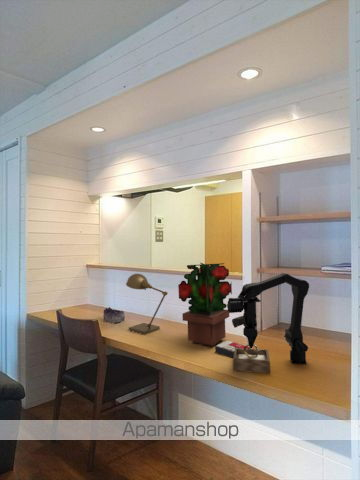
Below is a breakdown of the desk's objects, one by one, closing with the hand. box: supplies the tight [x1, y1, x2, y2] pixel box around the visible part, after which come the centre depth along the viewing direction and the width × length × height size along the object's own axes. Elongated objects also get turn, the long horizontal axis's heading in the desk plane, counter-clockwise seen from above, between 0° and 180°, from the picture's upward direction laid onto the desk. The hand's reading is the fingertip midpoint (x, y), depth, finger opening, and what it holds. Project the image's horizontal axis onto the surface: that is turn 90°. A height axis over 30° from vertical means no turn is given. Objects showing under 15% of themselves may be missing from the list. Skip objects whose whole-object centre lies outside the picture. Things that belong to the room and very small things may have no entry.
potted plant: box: [178, 262, 233, 348], centre depth 188 cm, size 22×22×45 cm
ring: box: [244, 341, 260, 359], centre depth 154 cm, size 7×3×8 cm, turn 58°
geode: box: [102, 306, 126, 324], centre depth 243 cm, size 20×12×10 cm, turn 53°
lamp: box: [125, 273, 169, 336], centre depth 213 cm, size 15×34×37 cm, turn 49°
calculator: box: [214, 340, 252, 358], centre depth 172 cm, size 11×4×15 cm
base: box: [232, 348, 271, 374], centre depth 154 cm, size 16×14×6 cm
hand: (250, 344), depth 154 cm, fingers open, 9 cm apart
